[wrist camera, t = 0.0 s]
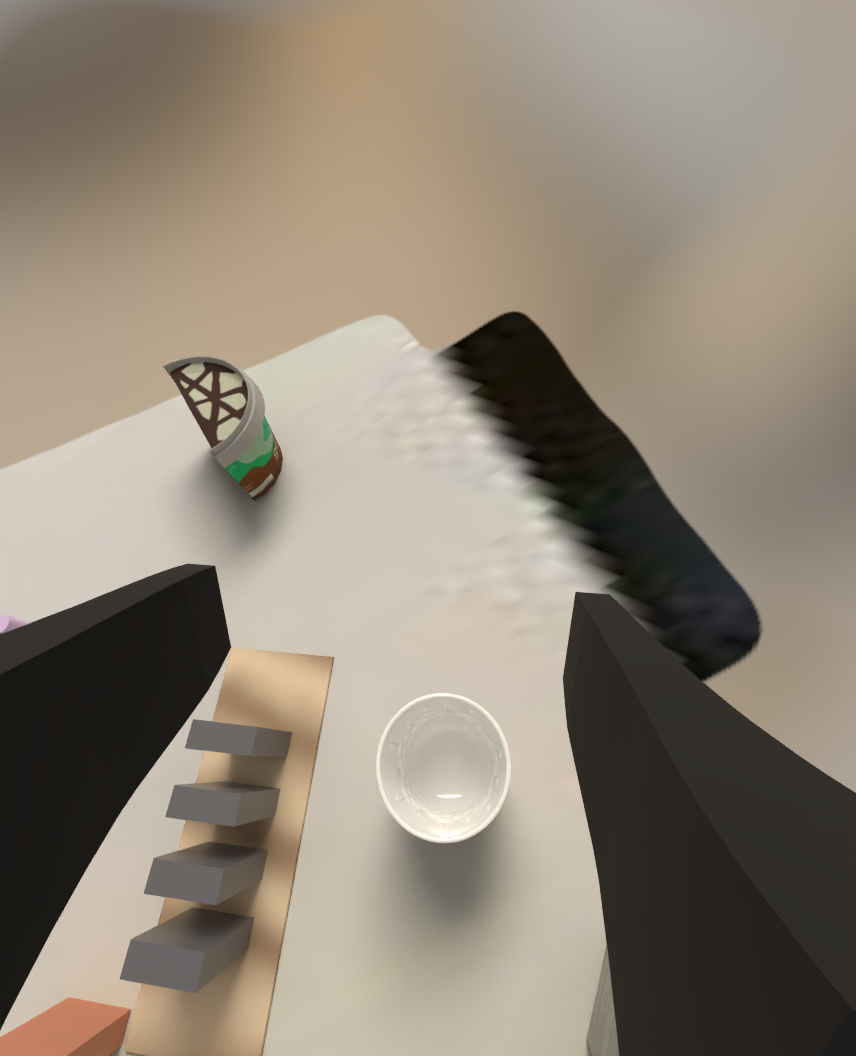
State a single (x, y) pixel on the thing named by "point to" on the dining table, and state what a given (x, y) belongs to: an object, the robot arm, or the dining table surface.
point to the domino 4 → (187, 949)
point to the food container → (230, 419)
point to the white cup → (443, 768)
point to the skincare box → (603, 1018)
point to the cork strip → (248, 983)
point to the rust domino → (69, 1031)
